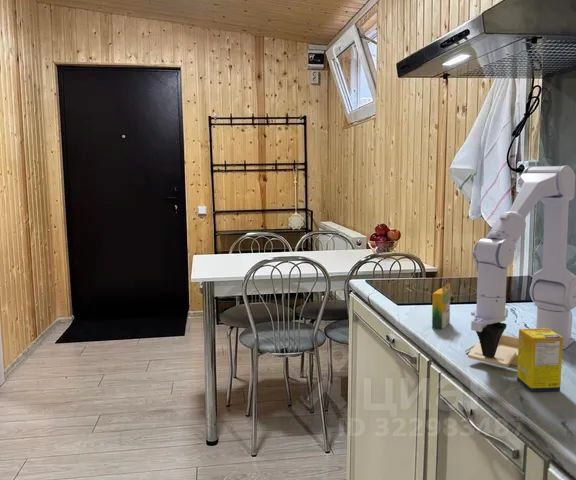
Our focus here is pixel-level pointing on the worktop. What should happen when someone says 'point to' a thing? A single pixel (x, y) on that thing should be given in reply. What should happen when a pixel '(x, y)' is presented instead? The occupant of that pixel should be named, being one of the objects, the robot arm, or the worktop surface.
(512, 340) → the carton
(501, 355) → the flap
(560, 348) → the supplement box
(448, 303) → the crayon box
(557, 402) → the worktop surface
